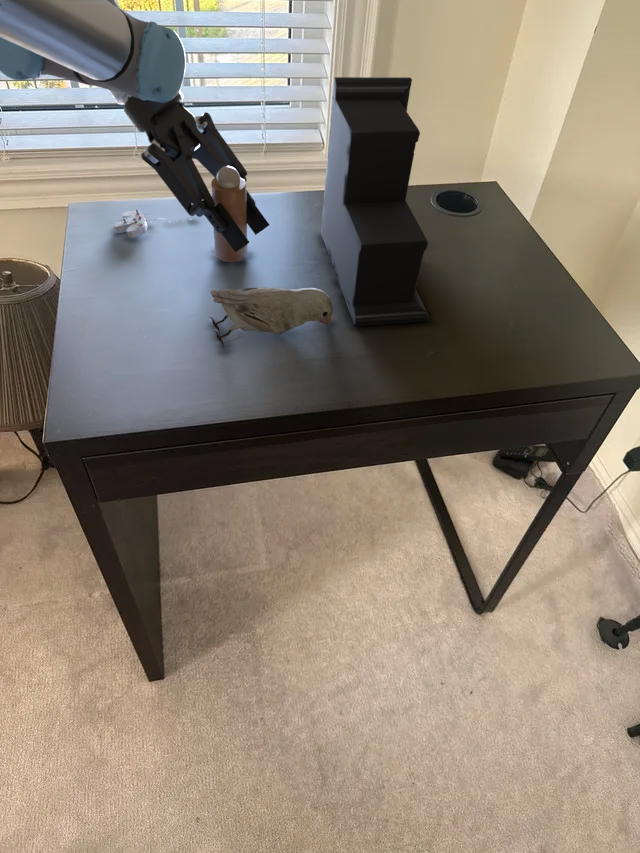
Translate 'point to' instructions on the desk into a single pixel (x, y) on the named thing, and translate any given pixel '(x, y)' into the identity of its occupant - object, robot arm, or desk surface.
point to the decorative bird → (272, 308)
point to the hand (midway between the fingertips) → (252, 238)
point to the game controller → (132, 224)
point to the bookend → (373, 201)
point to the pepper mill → (230, 210)
